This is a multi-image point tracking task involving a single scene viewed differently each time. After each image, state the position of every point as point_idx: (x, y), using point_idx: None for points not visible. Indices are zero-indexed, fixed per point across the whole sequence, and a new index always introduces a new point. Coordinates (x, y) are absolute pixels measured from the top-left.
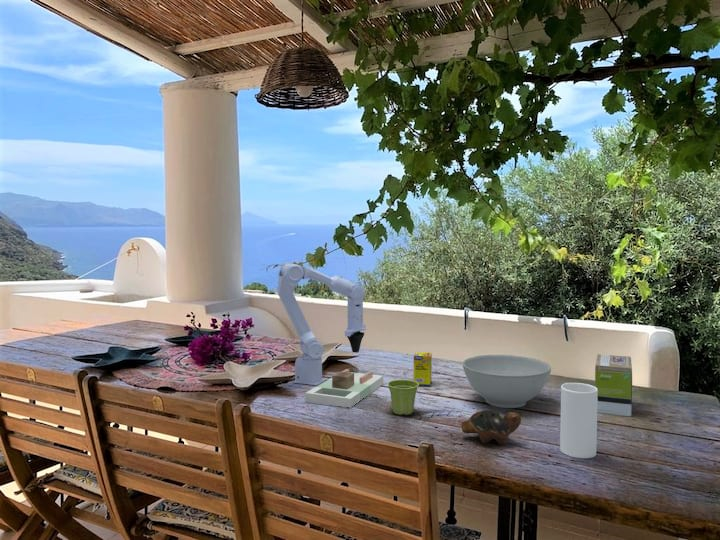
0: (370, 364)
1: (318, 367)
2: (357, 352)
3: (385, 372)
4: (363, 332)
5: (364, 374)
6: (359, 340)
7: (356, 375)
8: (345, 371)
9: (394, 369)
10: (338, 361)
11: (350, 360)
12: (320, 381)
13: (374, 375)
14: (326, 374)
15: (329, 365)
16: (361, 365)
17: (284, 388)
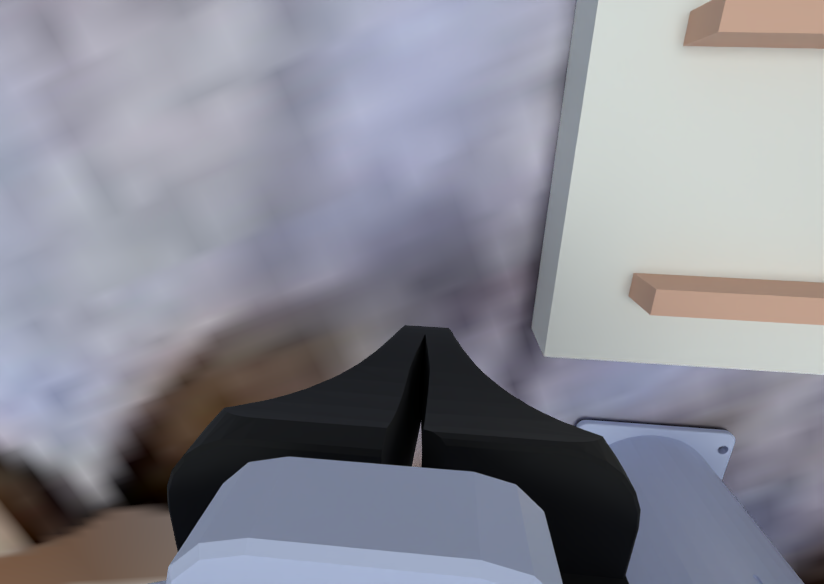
0: (72, 283)
1: (749, 529)
2: (448, 328)
3: (217, 76)
4: (183, 479)
5: (603, 137)
6: (459, 396)
7: (654, 199)
8: (747, 293)
9: (91, 29)
10: (129, 495)
11: (64, 440)
12: (663, 436)
13: (623, 13)
14: None
15: None
16: (133, 334)
17: (803, 565)
